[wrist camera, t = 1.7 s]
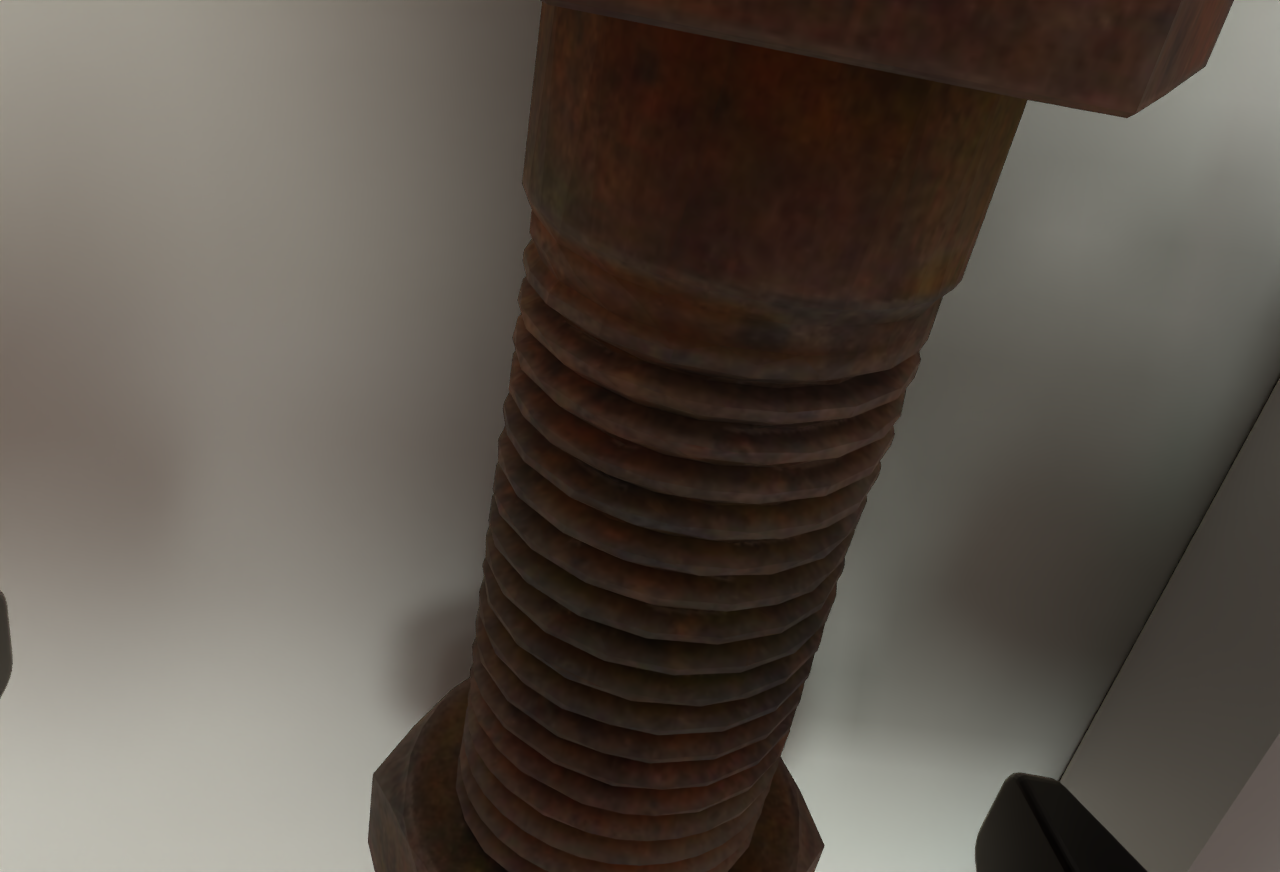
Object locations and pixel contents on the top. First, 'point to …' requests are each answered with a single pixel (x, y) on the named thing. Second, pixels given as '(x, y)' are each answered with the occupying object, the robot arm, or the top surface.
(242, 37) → the top surface
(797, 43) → the bolt
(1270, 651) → the parts tray
